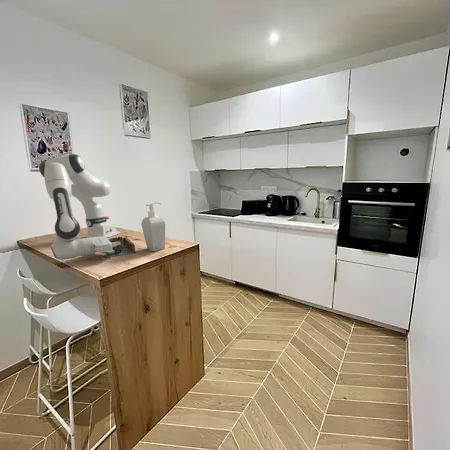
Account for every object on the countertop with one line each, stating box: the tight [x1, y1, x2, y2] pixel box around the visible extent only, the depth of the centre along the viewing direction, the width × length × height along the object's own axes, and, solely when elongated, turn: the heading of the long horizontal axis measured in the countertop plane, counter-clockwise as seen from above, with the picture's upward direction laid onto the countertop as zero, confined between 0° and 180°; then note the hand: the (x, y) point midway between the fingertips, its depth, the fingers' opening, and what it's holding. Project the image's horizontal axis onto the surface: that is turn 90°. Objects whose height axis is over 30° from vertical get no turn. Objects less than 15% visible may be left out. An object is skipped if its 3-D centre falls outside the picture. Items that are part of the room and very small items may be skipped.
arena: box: [106, 236, 136, 259], centre depth 142 cm, size 16×20×5 cm
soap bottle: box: [141, 201, 166, 252], centre depth 142 cm, size 12×10×26 cm
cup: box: [108, 236, 124, 253], centre depth 138 cm, size 8×7×8 cm
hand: (118, 241), depth 138 cm, fingers open, 8 cm apart
